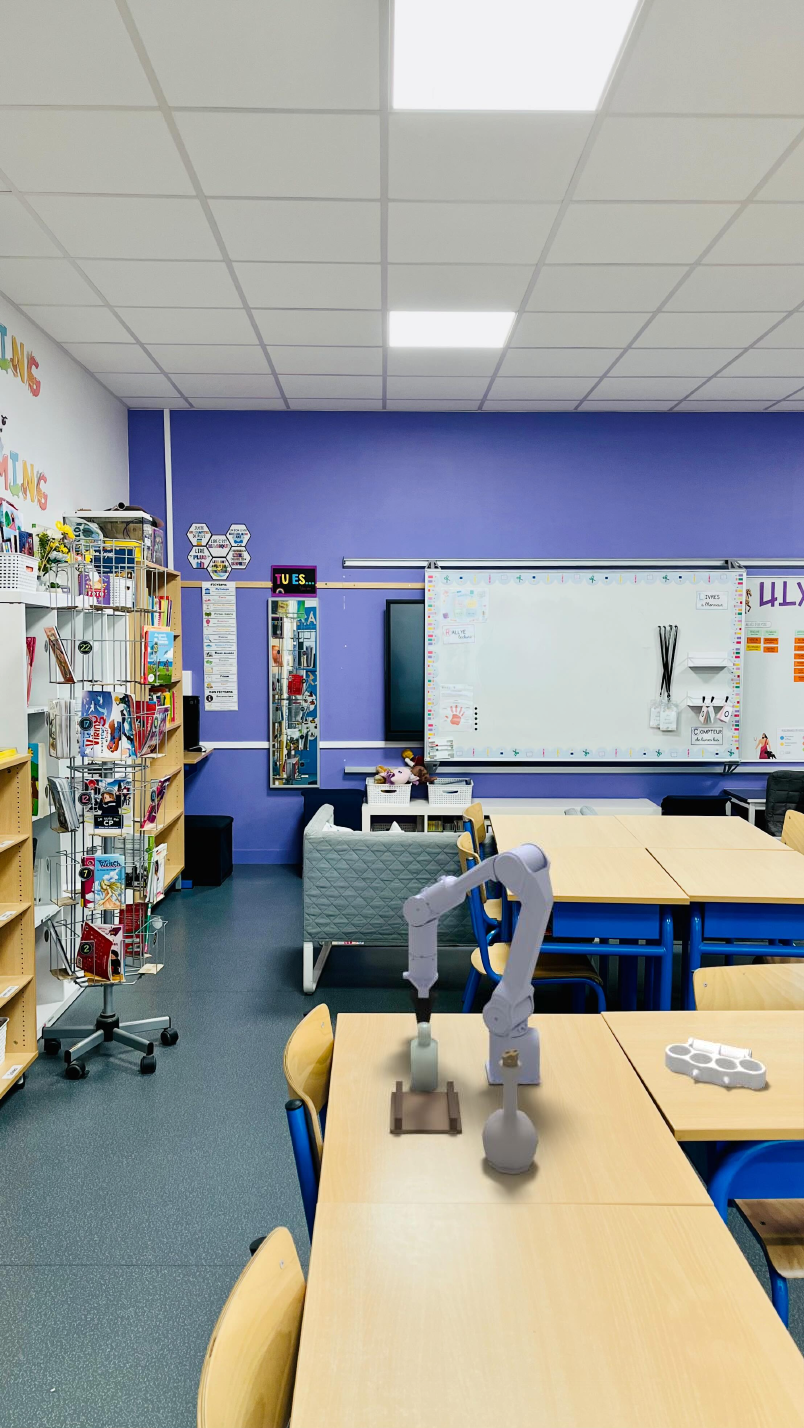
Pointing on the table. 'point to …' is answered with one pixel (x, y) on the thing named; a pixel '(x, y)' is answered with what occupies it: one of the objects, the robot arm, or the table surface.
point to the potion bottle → (509, 1125)
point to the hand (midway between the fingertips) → (422, 1018)
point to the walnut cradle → (425, 1111)
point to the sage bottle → (424, 1060)
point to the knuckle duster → (716, 1063)
